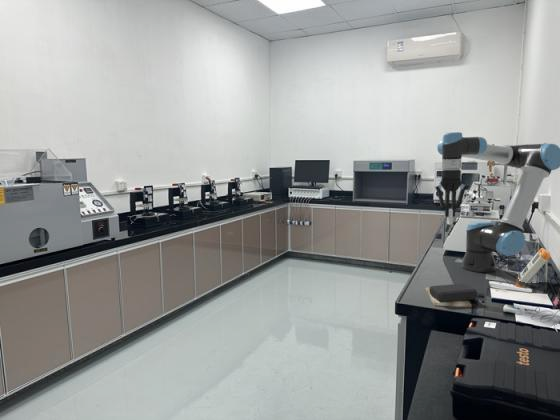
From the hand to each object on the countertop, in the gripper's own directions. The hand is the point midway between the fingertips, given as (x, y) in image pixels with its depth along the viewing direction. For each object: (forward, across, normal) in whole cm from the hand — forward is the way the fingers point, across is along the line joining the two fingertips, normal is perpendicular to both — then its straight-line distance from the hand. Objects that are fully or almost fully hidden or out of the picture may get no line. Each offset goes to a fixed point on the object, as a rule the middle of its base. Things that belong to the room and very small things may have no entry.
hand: (449, 224), depth 167 cm
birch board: (+26, -5, -19) cm, 33 cm away
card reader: (+23, +4, -19) cm, 30 cm away
